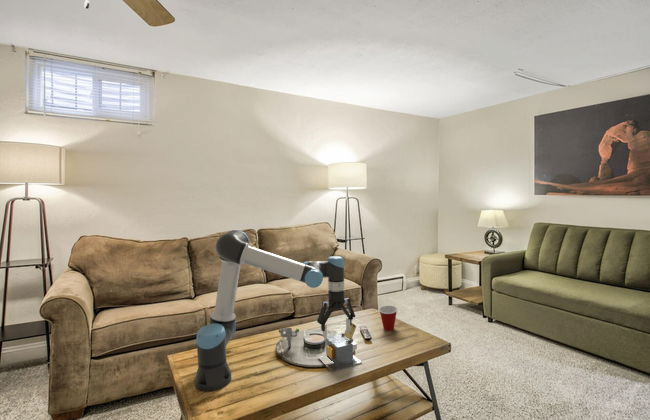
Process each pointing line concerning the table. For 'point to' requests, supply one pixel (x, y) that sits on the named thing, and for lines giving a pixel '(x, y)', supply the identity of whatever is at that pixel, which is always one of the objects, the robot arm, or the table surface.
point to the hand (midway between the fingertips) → (336, 334)
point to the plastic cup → (388, 317)
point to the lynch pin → (331, 351)
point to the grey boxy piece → (341, 353)
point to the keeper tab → (352, 330)
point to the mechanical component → (288, 334)
